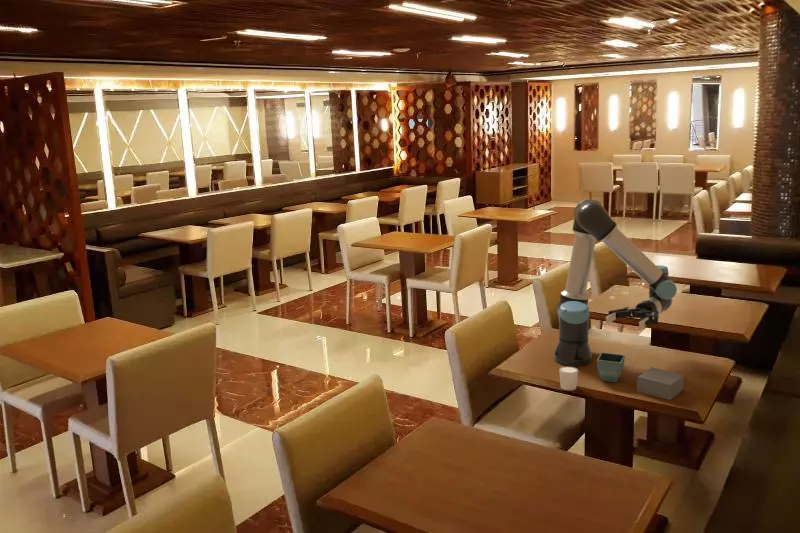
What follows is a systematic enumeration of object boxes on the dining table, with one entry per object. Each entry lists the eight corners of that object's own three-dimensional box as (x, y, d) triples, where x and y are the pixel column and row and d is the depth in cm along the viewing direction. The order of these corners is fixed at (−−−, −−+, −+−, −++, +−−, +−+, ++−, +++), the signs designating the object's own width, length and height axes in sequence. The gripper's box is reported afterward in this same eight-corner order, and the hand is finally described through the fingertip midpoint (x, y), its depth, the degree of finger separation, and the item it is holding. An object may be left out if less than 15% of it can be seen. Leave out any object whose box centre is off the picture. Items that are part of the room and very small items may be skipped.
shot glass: (576, 383, 251) (576, 366, 249) (579, 391, 244) (579, 373, 243) (557, 383, 252) (558, 366, 250) (560, 391, 245) (560, 373, 243)
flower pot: (595, 382, 252) (596, 359, 250) (600, 374, 259) (601, 352, 258) (620, 385, 248) (621, 362, 246) (624, 377, 255) (625, 355, 253)
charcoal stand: (636, 392, 242) (637, 376, 241) (650, 382, 251) (651, 367, 249) (669, 401, 234) (670, 384, 233) (683, 390, 243) (684, 374, 241)
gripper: (678, 322, 263) (654, 337, 248) (619, 313, 280) (593, 327, 266) (678, 304, 261) (654, 318, 247) (619, 296, 279) (593, 309, 264)
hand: (623, 322), depth 256 cm, fingers open, 13 cm apart
